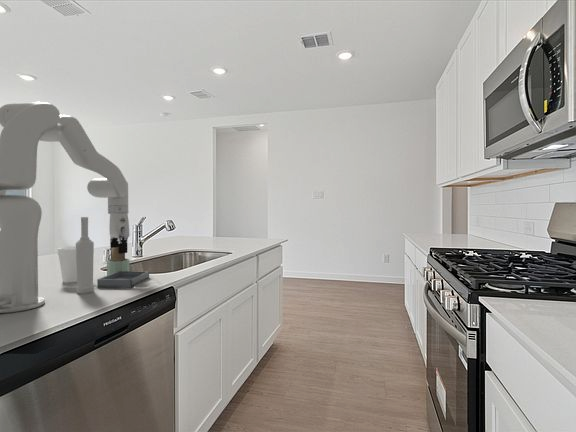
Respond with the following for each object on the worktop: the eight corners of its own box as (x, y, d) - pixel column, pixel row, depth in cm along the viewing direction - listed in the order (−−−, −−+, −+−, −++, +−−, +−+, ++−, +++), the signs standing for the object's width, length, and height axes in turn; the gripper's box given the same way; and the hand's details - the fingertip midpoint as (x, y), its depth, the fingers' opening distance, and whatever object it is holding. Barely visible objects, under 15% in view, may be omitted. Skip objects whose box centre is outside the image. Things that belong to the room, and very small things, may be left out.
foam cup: (93, 279, 131) (92, 246, 131) (75, 285, 122) (75, 249, 122) (70, 278, 132) (70, 245, 132) (51, 284, 123) (51, 248, 123)
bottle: (72, 292, 112) (71, 217, 111) (86, 289, 116) (85, 216, 116) (83, 294, 110) (83, 217, 109) (97, 290, 115) (97, 217, 114)
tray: (131, 288, 119) (131, 279, 118) (97, 287, 119) (97, 279, 118) (149, 279, 134) (149, 271, 133) (118, 278, 134) (118, 271, 133)
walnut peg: (121, 275, 137) (121, 248, 136) (109, 275, 137) (108, 248, 136) (127, 273, 142) (127, 247, 141) (115, 273, 142) (115, 247, 141)
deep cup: (123, 277, 135) (123, 261, 135) (102, 277, 135) (102, 261, 135) (132, 273, 143) (132, 258, 143) (113, 273, 143) (113, 258, 143)
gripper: (135, 210, 135) (136, 253, 136) (120, 209, 147) (120, 248, 148) (115, 210, 130) (116, 255, 130) (101, 209, 142) (102, 250, 143)
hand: (118, 251), depth 139 cm, fingers open, 9 cm apart
